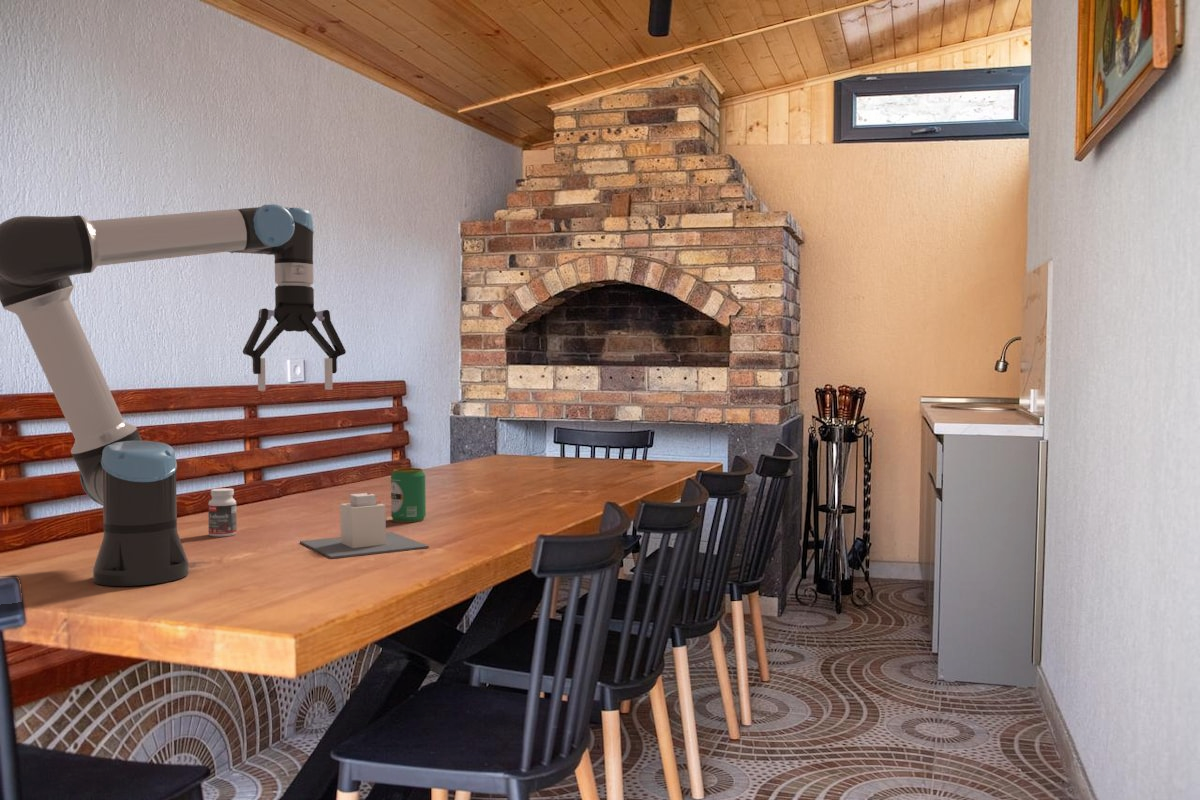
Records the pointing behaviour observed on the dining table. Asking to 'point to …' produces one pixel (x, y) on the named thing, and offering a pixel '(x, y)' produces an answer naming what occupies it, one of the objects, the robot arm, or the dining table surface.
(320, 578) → the dining table surface
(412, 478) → the beverage can
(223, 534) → the pill bottle
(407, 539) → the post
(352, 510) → the cream square sleeve
